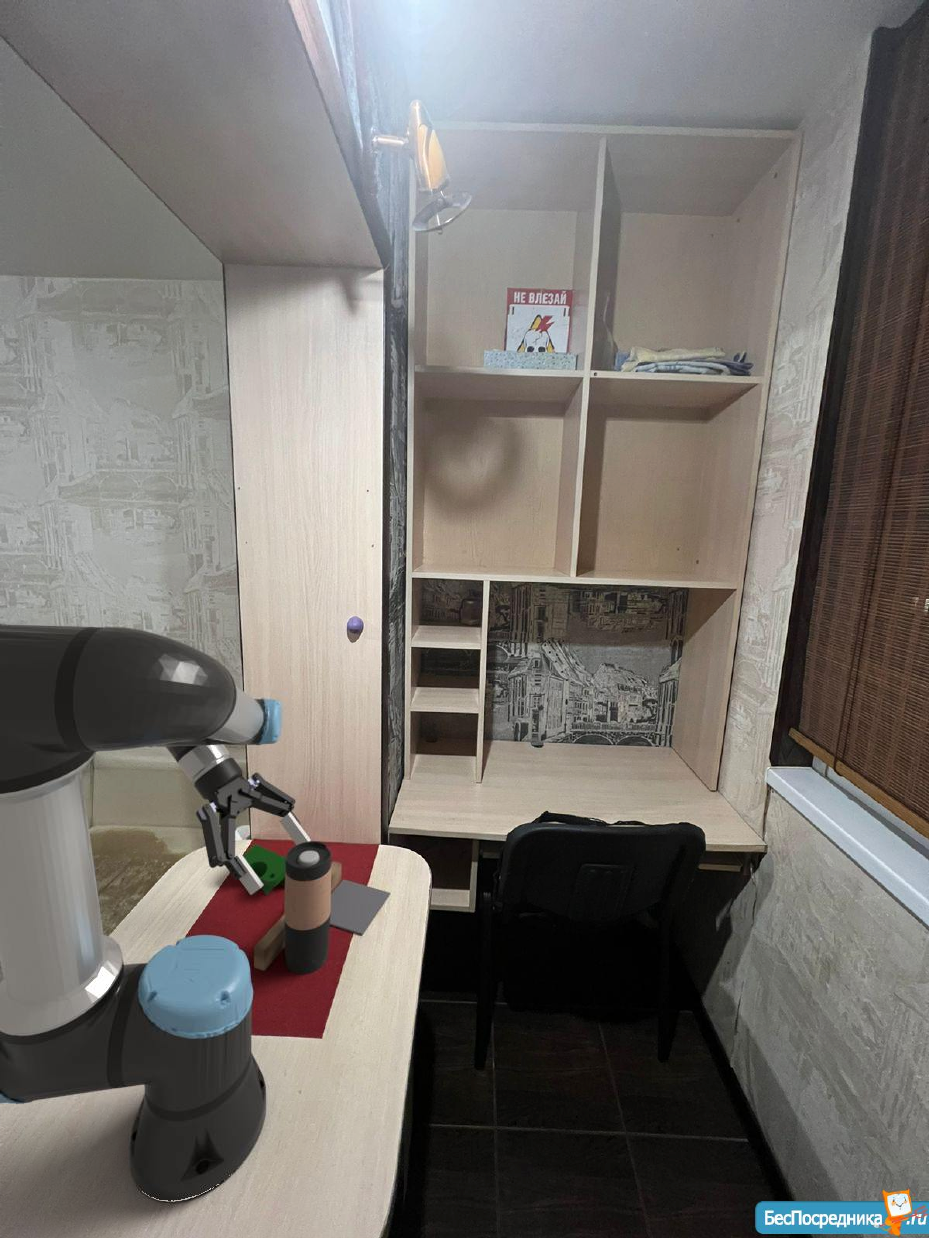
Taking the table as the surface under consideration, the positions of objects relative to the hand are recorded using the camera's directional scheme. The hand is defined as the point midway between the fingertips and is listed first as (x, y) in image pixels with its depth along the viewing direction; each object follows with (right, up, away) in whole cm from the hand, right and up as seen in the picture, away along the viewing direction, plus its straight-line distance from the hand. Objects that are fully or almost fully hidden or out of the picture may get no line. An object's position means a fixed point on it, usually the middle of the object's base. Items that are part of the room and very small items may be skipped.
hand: (283, 865), depth 92 cm
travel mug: (+4, -16, 0) cm, 17 cm away
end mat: (+9, -14, +13) cm, 21 cm away
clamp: (-10, -12, +18) cm, 24 cm away
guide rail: (+1, -14, +8) cm, 17 cm away
